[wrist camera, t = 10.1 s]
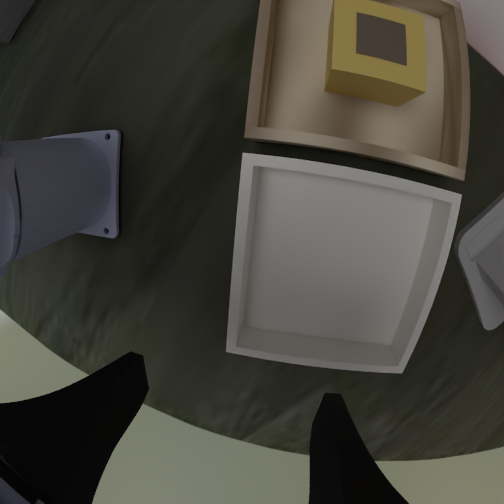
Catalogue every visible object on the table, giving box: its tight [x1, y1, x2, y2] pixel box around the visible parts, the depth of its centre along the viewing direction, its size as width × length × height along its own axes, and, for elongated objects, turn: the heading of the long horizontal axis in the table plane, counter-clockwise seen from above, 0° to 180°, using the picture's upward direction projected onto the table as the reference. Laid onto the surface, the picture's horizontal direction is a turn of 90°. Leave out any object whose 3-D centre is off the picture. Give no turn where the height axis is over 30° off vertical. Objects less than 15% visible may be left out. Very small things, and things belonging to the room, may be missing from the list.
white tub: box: [226, 153, 462, 373], centre depth 16 cm, size 12×12×3 cm
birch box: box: [244, 0, 470, 181], centre depth 12 cm, size 12×12×3 cm
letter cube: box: [324, 0, 426, 107], centre depth 11 cm, size 4×4×5 cm
